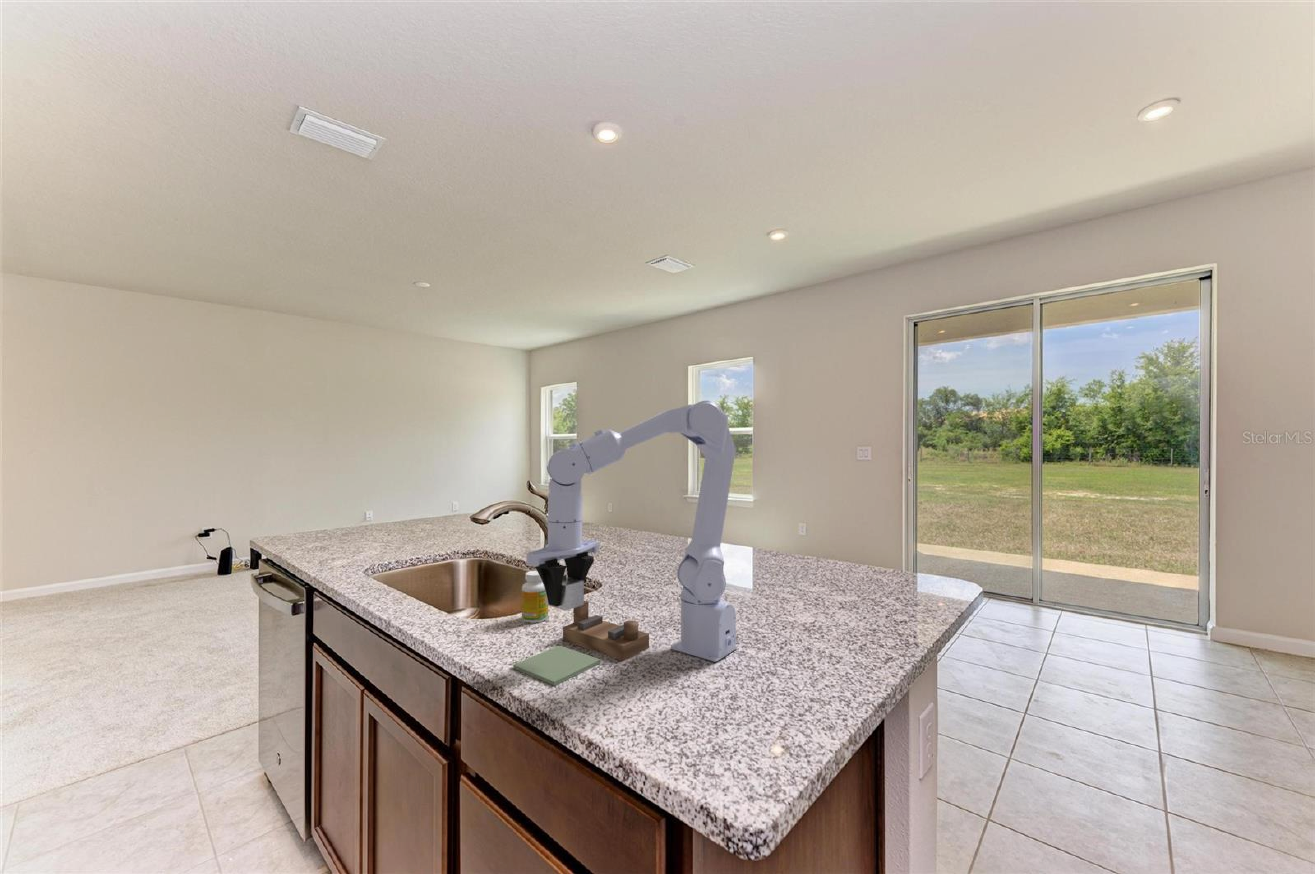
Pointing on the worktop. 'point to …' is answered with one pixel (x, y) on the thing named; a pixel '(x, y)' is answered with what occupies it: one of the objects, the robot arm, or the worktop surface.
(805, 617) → the worktop surface
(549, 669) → the rubber mat
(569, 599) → the lever cap
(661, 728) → the worktop surface
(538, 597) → the supplement bottle
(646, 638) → the plane body
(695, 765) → the worktop surface
